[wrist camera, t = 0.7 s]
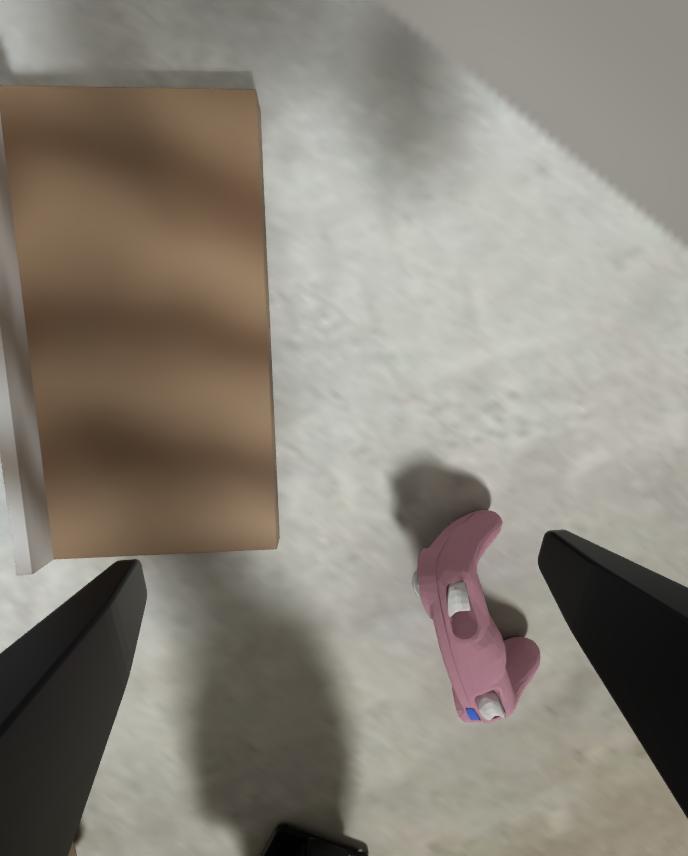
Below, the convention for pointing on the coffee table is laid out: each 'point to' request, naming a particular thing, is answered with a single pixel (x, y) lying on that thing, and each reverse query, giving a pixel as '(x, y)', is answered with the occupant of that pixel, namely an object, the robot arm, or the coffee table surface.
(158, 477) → the board
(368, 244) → the coffee table surface
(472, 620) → the pink elongated piece
